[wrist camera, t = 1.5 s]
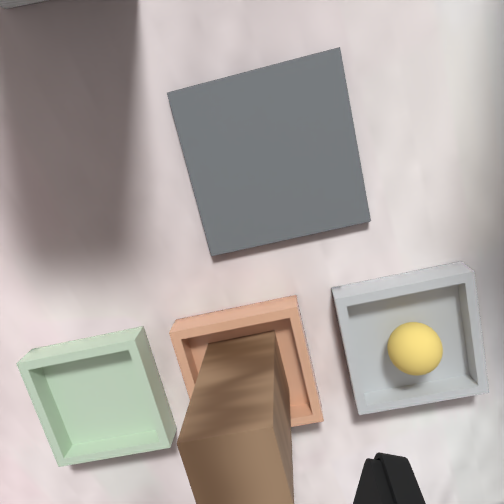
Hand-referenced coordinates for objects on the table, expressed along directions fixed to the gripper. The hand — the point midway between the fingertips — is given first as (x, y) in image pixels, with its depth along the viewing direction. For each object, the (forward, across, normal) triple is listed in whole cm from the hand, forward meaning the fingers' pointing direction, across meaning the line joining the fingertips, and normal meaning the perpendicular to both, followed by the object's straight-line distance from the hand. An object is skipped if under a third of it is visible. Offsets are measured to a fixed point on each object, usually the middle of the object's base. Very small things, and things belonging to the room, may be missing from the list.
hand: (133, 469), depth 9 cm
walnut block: (+20, -3, +9) cm, 22 cm away
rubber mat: (+21, -2, -5) cm, 21 cm away
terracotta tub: (+21, -3, +9) cm, 23 cm away
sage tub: (+21, +7, +13) cm, 25 cm away
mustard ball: (+19, -12, +4) cm, 23 cm away
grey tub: (+21, -12, +4) cm, 25 cm away
